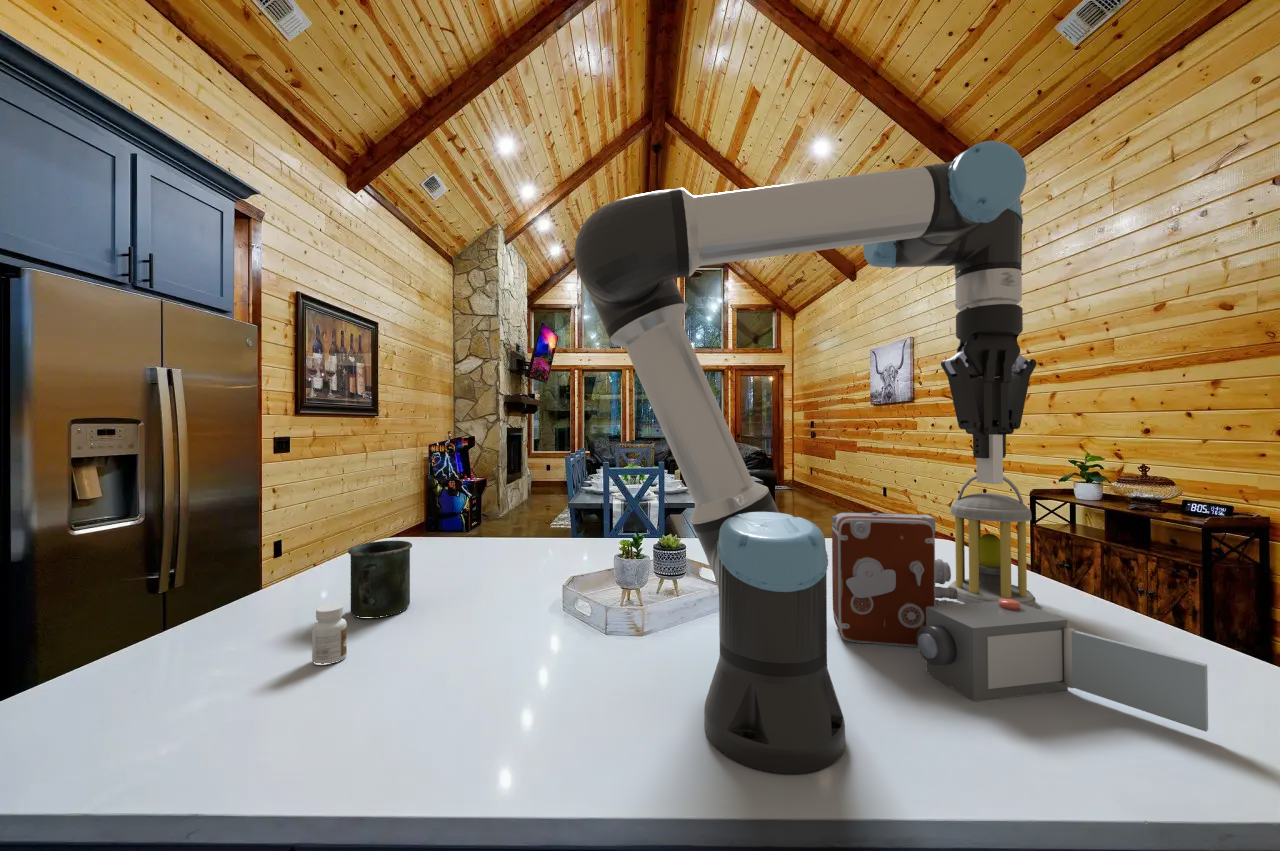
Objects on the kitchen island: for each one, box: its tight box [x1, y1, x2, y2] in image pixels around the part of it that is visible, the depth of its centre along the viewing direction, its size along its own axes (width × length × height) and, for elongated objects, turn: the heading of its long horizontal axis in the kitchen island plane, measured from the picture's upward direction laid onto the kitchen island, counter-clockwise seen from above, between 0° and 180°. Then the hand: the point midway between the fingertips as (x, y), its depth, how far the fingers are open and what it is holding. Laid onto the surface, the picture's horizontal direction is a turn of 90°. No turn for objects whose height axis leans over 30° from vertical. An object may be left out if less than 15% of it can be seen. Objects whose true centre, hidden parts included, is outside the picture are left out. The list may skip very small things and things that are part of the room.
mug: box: [347, 540, 413, 617], centre depth 97 cm, size 11×15×12 cm
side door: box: [1064, 627, 1209, 733], centre depth 62 cm, size 13×1×7 cm, turn 33°
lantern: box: [948, 474, 1037, 608], centre depth 104 cm, size 14×14×25 cm
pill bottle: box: [311, 603, 348, 664], centre depth 77 cm, size 4×4×8 cm
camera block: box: [917, 599, 1069, 702], centre depth 70 cm, size 16×8×10 cm, turn 101°
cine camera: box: [831, 511, 964, 648], centre depth 84 cm, size 9×19×20 cm, turn 78°
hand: (989, 482), depth 71 cm, fingers closed
